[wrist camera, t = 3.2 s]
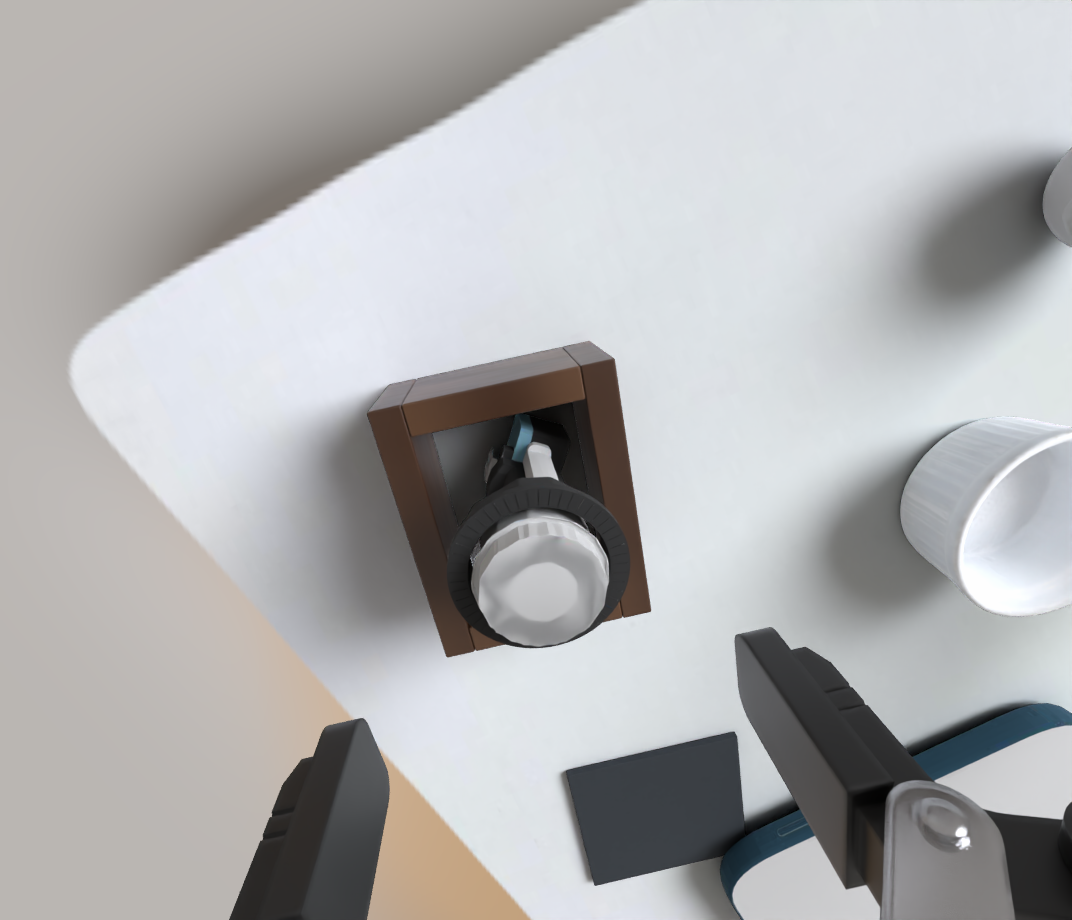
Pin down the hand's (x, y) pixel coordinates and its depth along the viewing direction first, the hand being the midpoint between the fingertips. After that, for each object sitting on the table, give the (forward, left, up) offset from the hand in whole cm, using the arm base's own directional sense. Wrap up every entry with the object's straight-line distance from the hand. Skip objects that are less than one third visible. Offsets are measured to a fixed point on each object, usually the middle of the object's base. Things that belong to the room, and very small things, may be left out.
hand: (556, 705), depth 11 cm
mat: (+4, -24, -14) cm, 28 cm away
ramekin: (+22, -6, -14) cm, 27 cm away
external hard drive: (+19, -29, -13) cm, 37 cm away
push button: (0, 0, -14) cm, 14 cm away
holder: (0, 0, -14) cm, 14 cm away
